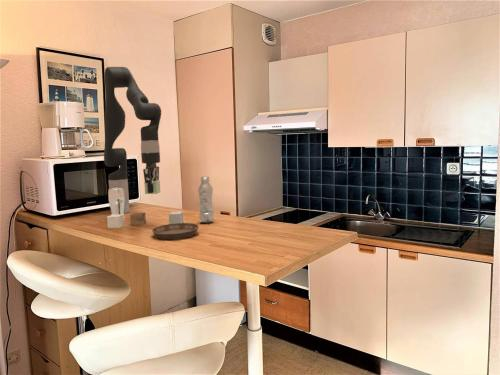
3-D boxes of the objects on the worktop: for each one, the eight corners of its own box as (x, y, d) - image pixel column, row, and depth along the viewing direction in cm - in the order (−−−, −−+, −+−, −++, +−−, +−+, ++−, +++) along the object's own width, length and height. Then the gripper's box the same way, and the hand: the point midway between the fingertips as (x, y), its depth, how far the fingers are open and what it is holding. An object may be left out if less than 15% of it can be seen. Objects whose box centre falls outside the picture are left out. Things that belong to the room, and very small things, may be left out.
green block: (149, 192, 170) (148, 180, 169) (160, 192, 169) (159, 180, 169) (145, 193, 165) (144, 182, 164) (156, 193, 164) (156, 181, 164)
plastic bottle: (215, 220, 176) (213, 176, 174) (212, 224, 169) (210, 177, 167) (201, 221, 177) (199, 176, 174) (197, 224, 170) (195, 178, 168)
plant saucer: (152, 243, 141) (152, 234, 141) (151, 232, 158) (151, 225, 158) (202, 238, 146) (201, 230, 145) (195, 228, 163) (195, 221, 162)
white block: (112, 225, 173) (112, 214, 172) (124, 225, 172) (123, 214, 172) (107, 228, 168) (107, 216, 167) (119, 228, 167) (118, 216, 167)
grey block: (172, 223, 175) (171, 211, 174) (183, 222, 174) (183, 211, 174) (169, 225, 170) (168, 214, 169) (180, 225, 169) (180, 213, 169)
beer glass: (116, 222, 178) (113, 190, 177) (107, 221, 183) (104, 189, 181) (129, 220, 184) (126, 188, 182) (120, 218, 188) (118, 187, 186)
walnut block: (135, 223, 176) (134, 212, 175) (146, 223, 176) (145, 212, 175) (130, 226, 171) (130, 214, 170) (142, 225, 171) (141, 214, 170)
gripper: (147, 151, 172) (149, 189, 174) (135, 152, 158) (138, 194, 160) (164, 150, 172) (166, 189, 174) (153, 152, 158) (156, 194, 160)
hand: (152, 191), depth 167 cm, fingers closed on green block, 5 cm apart
